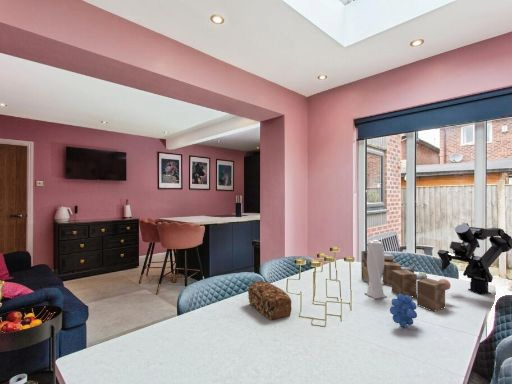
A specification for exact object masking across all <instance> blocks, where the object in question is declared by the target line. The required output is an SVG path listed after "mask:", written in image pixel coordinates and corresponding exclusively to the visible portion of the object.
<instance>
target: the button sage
mask: <svg viewBox="0 0 512 384" xmlns="http://www.w3.org/2000/svg"><path fill="white" fill-rule="evenodd" d="M423 279H428V275H427V273H425V271H424V272H423V271H421V272H418V274H417V281H419V280H423Z"/></svg>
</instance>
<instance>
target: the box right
mask: <svg viewBox="0 0 512 384" xmlns="http://www.w3.org/2000/svg"><path fill="white" fill-rule="evenodd" d="M416 301H417V302H416V303H417V304H416V306H418V305H420V306H419V307H421V306H422V307H421V308H424V307H425V308H424V309H426V308H427V309H426V310H429V309H430V310H429V311H432V310H433V311H432V312H436V311H439V310H438V309H440V310H442V309H441V308H443V309H445V308H446V290H445V283H444V282H440V281H439V280H437V279H433V278H428V277H427V279H423V280H417V298H416ZM444 307H445V308H444ZM435 310H436V311H435Z"/></svg>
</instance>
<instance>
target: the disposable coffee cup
mask: <svg viewBox="0 0 512 384" xmlns="http://www.w3.org/2000/svg"><path fill="white" fill-rule="evenodd" d="M394 259H395V255H394V254H393V253H392V254H391V253H387V252H384V262H393V263H394ZM382 276H383V274H382Z"/></svg>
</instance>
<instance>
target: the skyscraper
mask: <svg viewBox="0 0 512 384" xmlns="http://www.w3.org/2000/svg"><path fill="white" fill-rule="evenodd" d="M366 251H367V269H368V275H369V279H370V280H369V283H368V286H367V292H365V293H364V295H365V296H368V297H370V298H372V299H374V300H381V299H386V298H388V296H387V295H385V294H384V288H383V284H382V279H383V275H382V274H383V269H384V253H385V252H384V247H383V238H382V237H380V241H379V239H372V240H370V239H368V244H367V250H366Z"/></svg>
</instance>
